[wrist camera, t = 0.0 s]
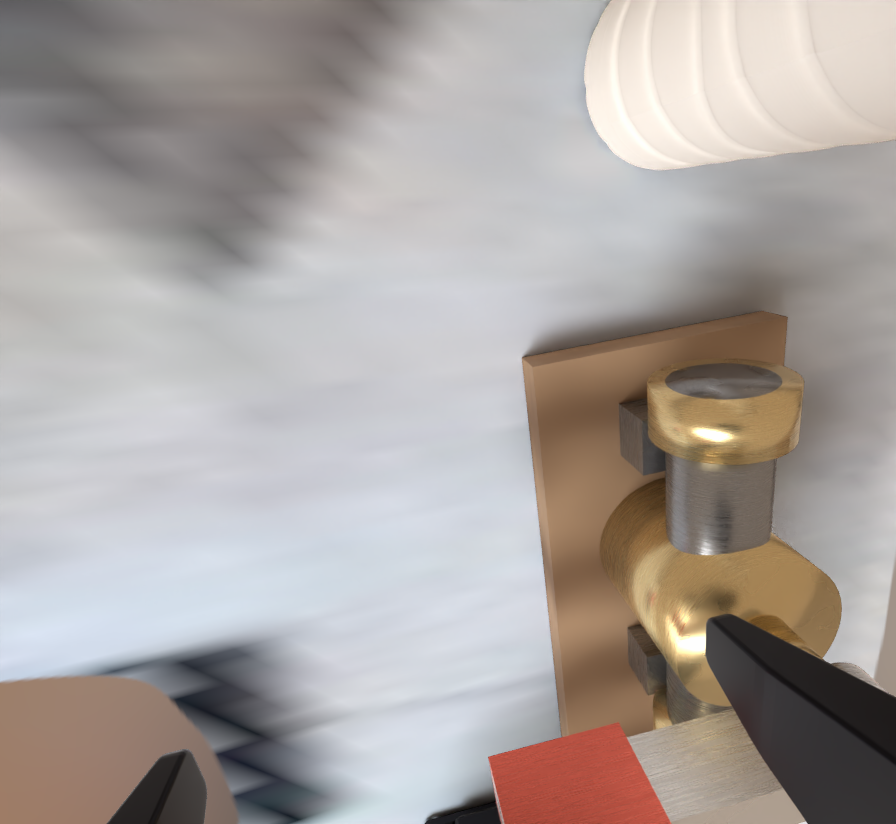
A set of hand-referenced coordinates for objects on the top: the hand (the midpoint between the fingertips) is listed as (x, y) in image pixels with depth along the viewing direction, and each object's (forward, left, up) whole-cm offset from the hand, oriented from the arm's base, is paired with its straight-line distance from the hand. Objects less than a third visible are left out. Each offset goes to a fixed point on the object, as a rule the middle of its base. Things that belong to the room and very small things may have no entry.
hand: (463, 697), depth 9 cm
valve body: (-8, -11, -13) cm, 19 cm away
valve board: (-10, -11, -15) cm, 21 cm away
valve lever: (-8, -7, -4) cm, 11 cm away
